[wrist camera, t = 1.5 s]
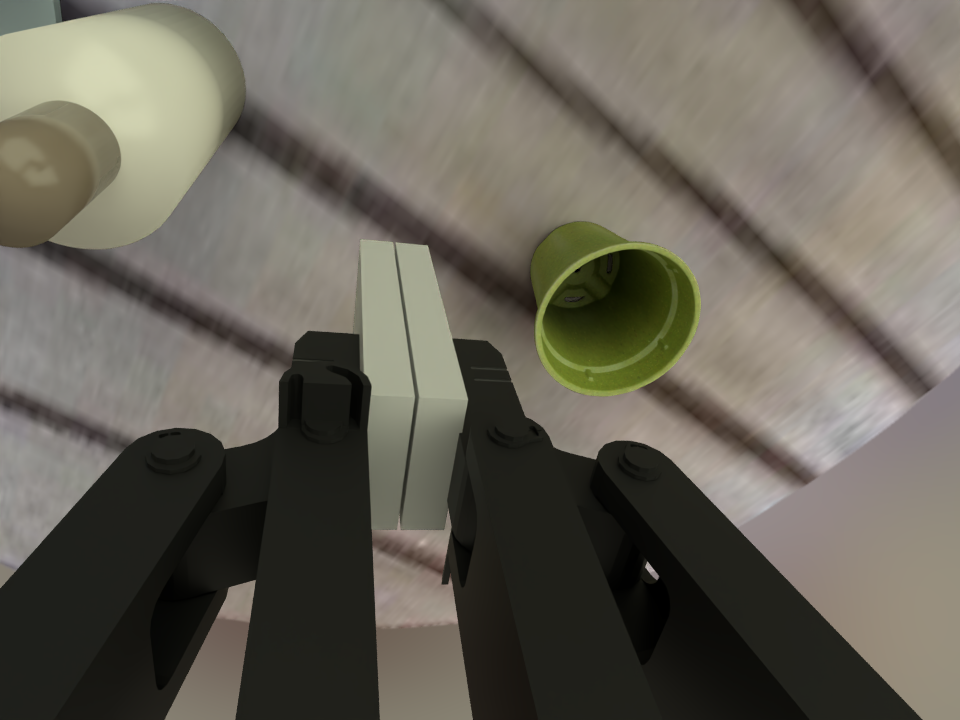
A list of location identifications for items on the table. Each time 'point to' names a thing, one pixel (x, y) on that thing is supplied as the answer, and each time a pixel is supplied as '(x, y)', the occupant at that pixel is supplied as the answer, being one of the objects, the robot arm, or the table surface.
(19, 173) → the cream bottle
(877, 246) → the table surface
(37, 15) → the grey-green cradle
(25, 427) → the table surface
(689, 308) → the plant pot
